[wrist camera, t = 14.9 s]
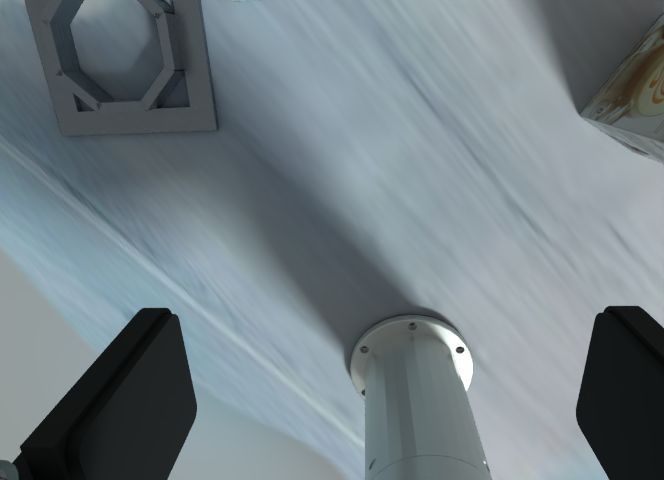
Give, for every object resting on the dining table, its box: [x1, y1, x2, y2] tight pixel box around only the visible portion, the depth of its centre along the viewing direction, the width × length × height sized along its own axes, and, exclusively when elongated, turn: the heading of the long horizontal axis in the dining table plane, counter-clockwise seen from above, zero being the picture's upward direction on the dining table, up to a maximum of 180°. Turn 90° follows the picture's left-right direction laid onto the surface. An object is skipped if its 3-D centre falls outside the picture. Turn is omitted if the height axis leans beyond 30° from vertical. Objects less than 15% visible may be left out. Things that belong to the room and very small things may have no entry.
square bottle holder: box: [25, 0, 219, 136], centre depth 35 cm, size 14×14×2 cm
